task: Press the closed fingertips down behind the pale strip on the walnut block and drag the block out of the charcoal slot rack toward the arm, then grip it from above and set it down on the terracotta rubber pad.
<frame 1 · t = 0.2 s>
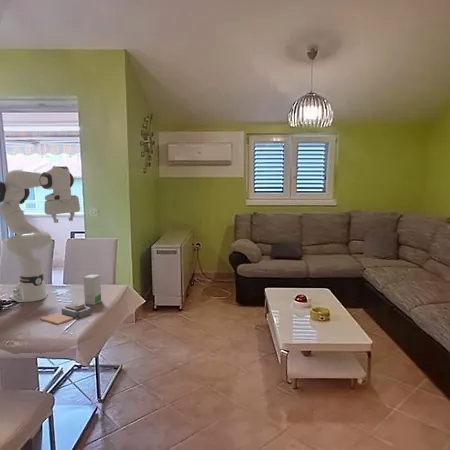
hand: (63, 221, 223), 47 cm above the table, tool pointing down, fingers open, 8 cm apart
skincare box: (93, 302, 237), on the table
rubber pad: (56, 319, 210), on the table
walnut block: (75, 308, 219), in the slot rack
slot rack: (75, 313, 219), on the table
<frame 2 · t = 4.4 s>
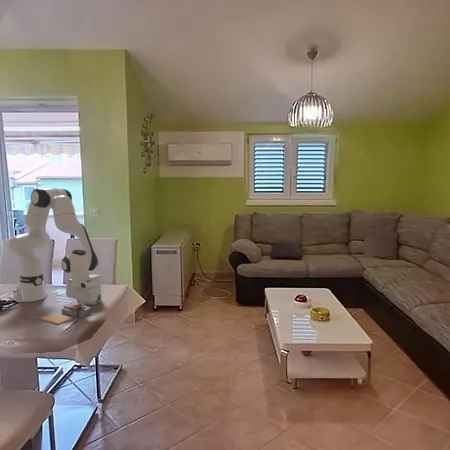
hand: (81, 307, 216), 4 cm above the table, tool pointing down, fingers closed
walnut block: (74, 308, 219), in the slot rack, touching gripper
everything else where it was.
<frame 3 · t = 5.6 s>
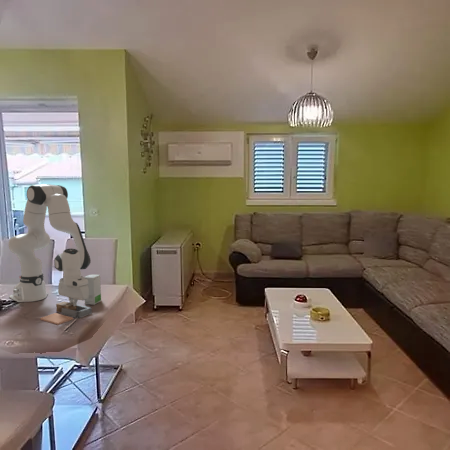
hand: (73, 305, 219), 4 cm above the table, tool pointing down, fingers closed
walnut block: (66, 306, 222), on the table, touching gripper
everything else where it was.
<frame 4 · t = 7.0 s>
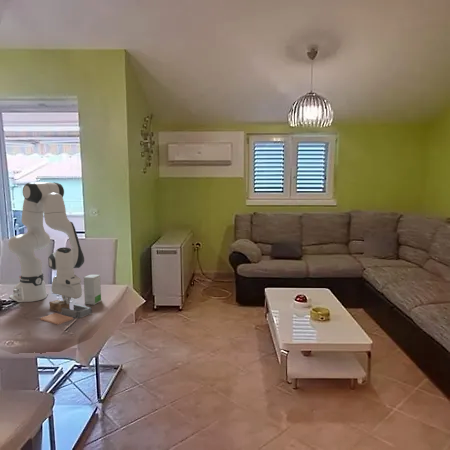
hand: (66, 303, 222), 4 cm above the table, tool pointing down, fingers closed
walnut block: (59, 304, 225), on the table, touching gripper
everything else where it was.
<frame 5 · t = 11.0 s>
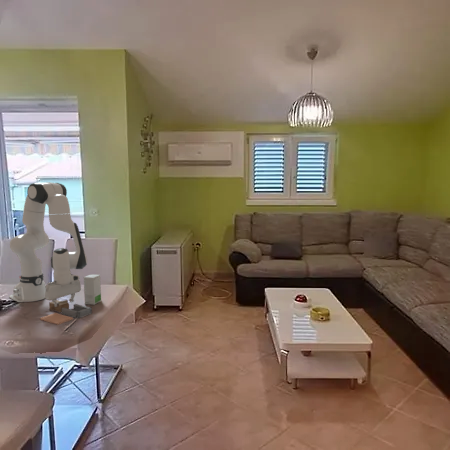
hand: (64, 304, 225), 3 cm above the table, tool pointing down, fingers open, 8 cm apart
walnut block: (59, 305, 225), on the table
everything else where it was.
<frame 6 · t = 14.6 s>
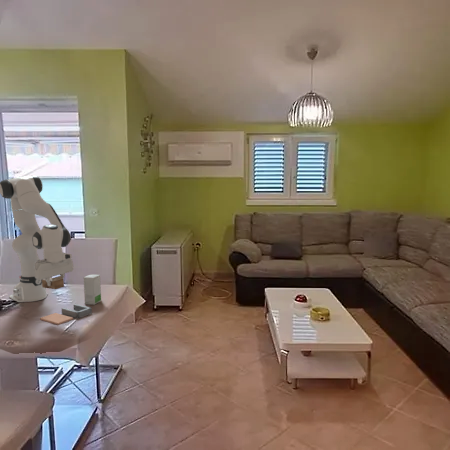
hand: (55, 284, 209), 18 cm above the table, tool pointing down, fingers closed on walnut block, 5 cm apart
walnut block: (52, 281, 210), point 19 cm above the table, touching gripper
everything else where it was.
when the fingers open (4 cm above the table, at t = 17.8 s): walnut block drops 1 cm, resting on rubber pad.
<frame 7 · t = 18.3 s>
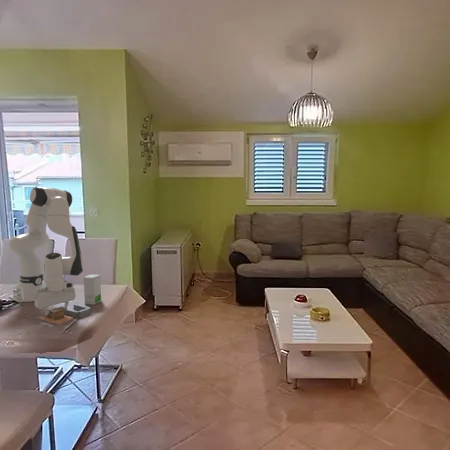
hand: (56, 312, 210), 4 cm above the table, tool pointing down, fingers open, 8 cm apart
walnut block: (54, 311, 211), on the rubber pad, point 4 cm above the table
everything else where it was.
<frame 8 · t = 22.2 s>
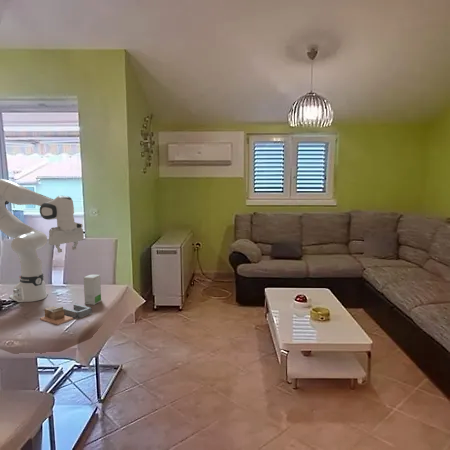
hand: (67, 250, 227), 31 cm above the table, tool pointing down, fingers open, 8 cm apart
nothing on the table moved.
at the end: walnut block inside the target area on the rubber pad (1.8 cm from its centre), point 3.5 cm above the rubber pad's base; walnut block tilted 0°; the gripper is holding nothing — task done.
